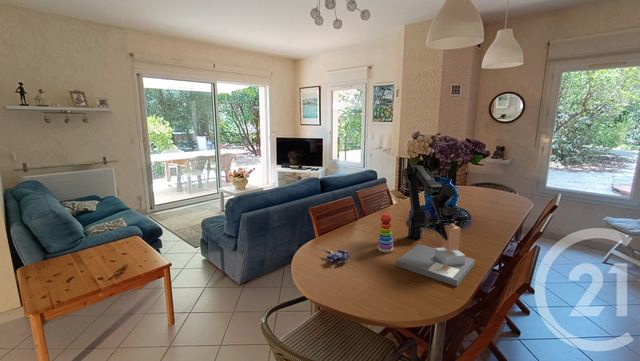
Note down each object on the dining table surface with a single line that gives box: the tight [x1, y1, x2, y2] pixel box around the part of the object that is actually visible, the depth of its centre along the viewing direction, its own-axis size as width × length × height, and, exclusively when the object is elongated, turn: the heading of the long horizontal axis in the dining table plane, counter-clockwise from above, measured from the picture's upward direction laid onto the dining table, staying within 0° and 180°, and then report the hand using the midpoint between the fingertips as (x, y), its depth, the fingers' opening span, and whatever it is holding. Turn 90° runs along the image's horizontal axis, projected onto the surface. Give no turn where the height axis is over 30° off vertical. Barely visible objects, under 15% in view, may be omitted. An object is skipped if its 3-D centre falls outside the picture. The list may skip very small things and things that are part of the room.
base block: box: [434, 247, 466, 265], centre depth 134 cm, size 9×9×4 cm
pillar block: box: [441, 223, 462, 251], centre depth 132 cm, size 5×5×11 cm
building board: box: [395, 243, 476, 287], centre depth 134 cm, size 26×24×3 cm
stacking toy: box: [376, 213, 395, 254], centre depth 149 cm, size 8×8×19 cm
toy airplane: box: [322, 249, 351, 265], centre depth 140 cm, size 13×14×4 cm
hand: (452, 239), depth 131 cm, fingers closed on pillar block, 5 cm apart
